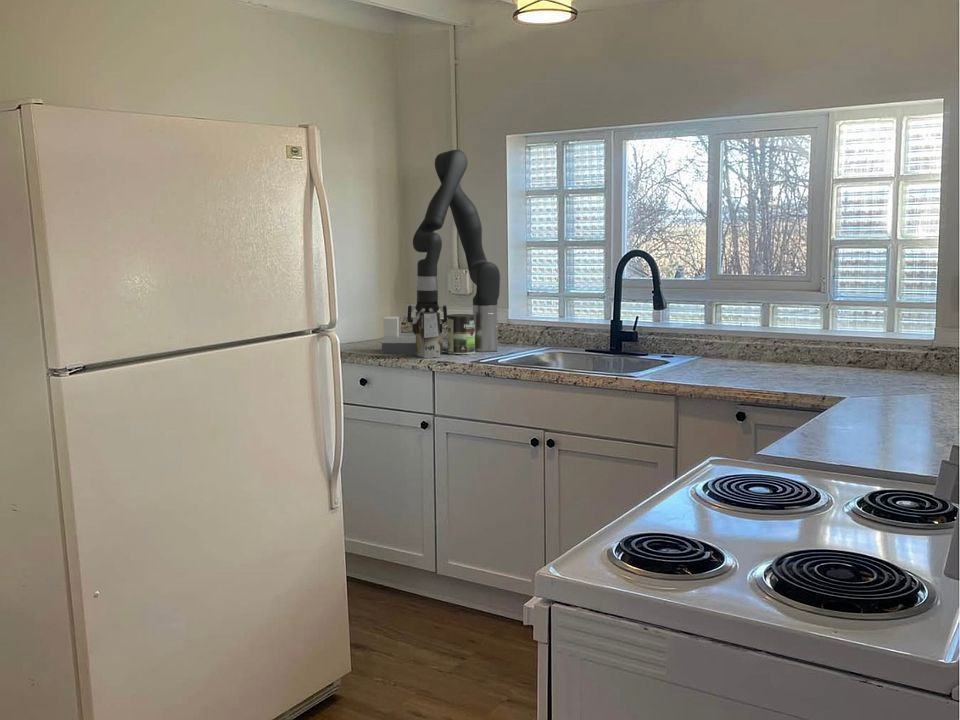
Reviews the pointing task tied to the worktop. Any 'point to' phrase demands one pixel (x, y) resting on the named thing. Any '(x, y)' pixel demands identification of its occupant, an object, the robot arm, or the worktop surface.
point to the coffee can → (461, 334)
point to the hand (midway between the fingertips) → (427, 334)
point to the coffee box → (428, 335)
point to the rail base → (402, 348)
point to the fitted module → (391, 326)
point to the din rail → (404, 338)
